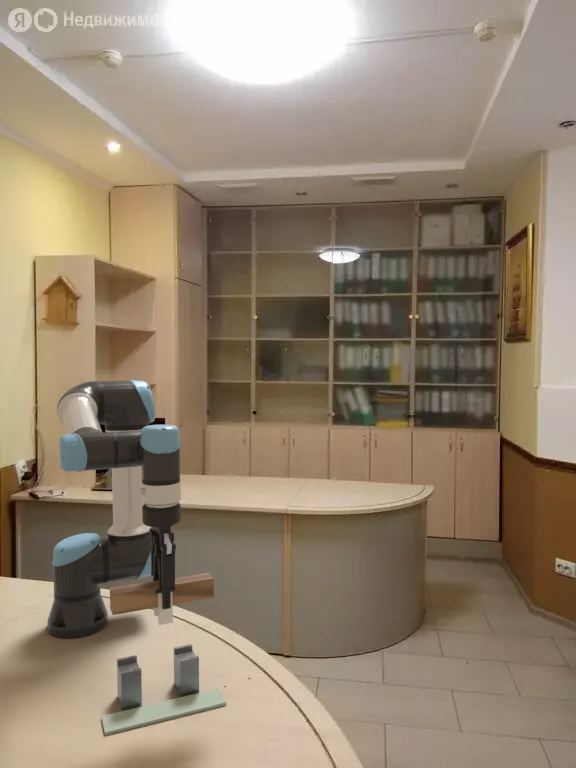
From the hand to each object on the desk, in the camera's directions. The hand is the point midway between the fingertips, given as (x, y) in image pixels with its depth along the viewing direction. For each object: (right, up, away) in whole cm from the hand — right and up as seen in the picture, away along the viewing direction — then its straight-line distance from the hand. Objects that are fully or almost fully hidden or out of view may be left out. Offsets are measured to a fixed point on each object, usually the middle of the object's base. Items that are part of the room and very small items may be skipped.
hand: (163, 618), depth 120 cm
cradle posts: (-2, -19, +7) cm, 20 cm away
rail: (0, +3, 0) cm, 3 cm away
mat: (0, -19, +1) cm, 19 cm away
